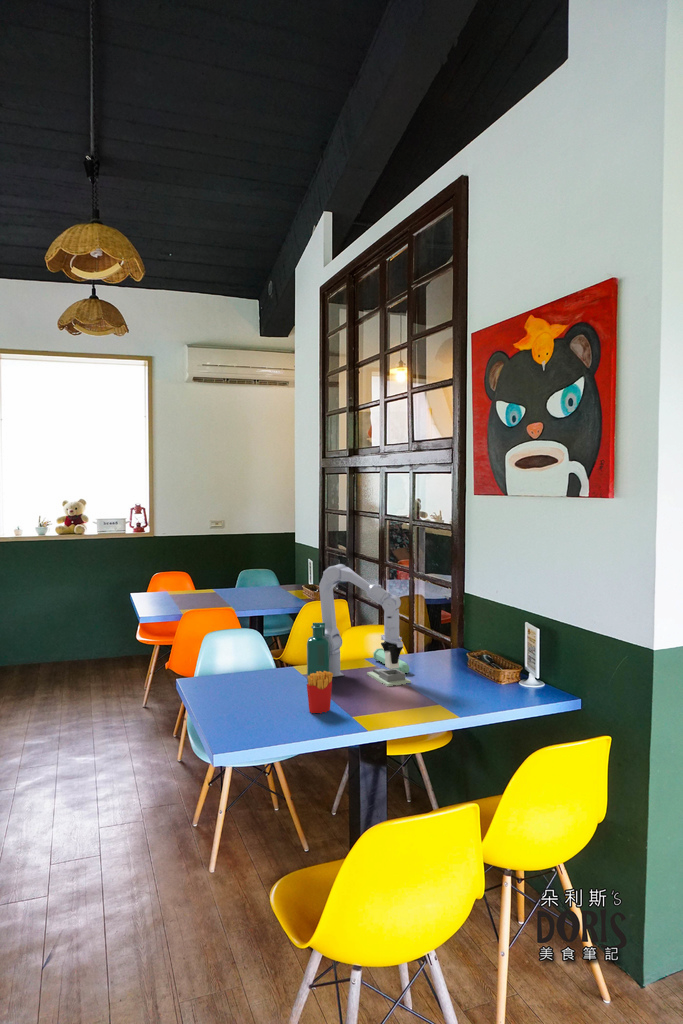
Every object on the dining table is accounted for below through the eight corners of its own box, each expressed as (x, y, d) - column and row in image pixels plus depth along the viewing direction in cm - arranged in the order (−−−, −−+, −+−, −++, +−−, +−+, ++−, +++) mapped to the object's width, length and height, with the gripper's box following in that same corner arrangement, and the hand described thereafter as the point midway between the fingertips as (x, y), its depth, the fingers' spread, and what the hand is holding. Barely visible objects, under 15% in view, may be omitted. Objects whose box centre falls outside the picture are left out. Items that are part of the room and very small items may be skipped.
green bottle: (329, 685, 259) (328, 627, 258) (307, 685, 259) (306, 627, 259) (330, 678, 269) (329, 622, 268) (308, 678, 269) (308, 622, 268)
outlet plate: (387, 686, 257) (387, 677, 256) (367, 674, 273) (367, 666, 273) (411, 683, 260) (410, 674, 260) (389, 671, 277) (389, 663, 277)
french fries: (311, 715, 225) (311, 676, 224) (305, 711, 228) (304, 673, 228) (335, 710, 230) (335, 671, 229) (328, 706, 233) (328, 669, 233)
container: (409, 659, 273) (382, 645, 296) (397, 666, 271) (371, 651, 294) (414, 672, 274) (387, 657, 297) (402, 679, 272) (375, 664, 295)
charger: (389, 668, 261) (389, 653, 261) (385, 666, 265) (384, 651, 265) (399, 667, 263) (399, 652, 263) (394, 665, 266) (394, 650, 266)
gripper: (410, 629, 258) (410, 665, 259) (392, 622, 272) (392, 656, 272) (393, 631, 255) (393, 667, 256) (376, 624, 269) (376, 658, 269)
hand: (392, 662), depth 264 cm, fingers closed on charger, 4 cm apart
